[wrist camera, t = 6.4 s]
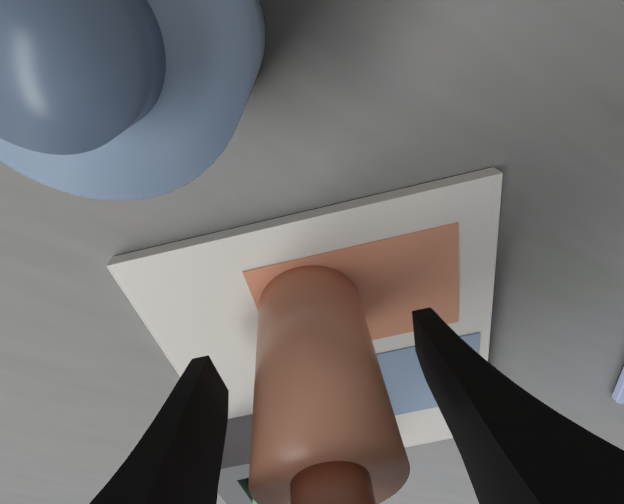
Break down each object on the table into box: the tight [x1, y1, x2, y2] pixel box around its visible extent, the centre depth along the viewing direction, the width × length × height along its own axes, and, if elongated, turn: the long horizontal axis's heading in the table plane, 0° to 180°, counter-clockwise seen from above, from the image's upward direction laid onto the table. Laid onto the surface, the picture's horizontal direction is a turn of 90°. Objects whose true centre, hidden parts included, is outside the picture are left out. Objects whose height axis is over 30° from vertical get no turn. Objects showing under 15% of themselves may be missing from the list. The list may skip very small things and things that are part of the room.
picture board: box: [106, 167, 503, 504], centre depth 16 cm, size 14×16×3 cm
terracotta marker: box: [249, 266, 410, 504], centre depth 11 cm, size 4×4×8 cm
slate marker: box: [0, 0, 266, 201], centre depth 6 cm, size 4×4×8 cm
